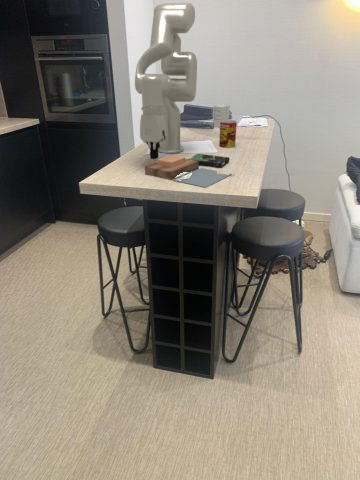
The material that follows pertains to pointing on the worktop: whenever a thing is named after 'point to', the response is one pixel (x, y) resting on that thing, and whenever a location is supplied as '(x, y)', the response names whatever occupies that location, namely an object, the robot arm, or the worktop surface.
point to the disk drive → (211, 160)
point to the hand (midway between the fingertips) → (154, 158)
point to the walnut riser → (171, 169)
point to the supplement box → (220, 114)
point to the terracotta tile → (171, 161)
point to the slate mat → (203, 178)
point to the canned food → (227, 133)
